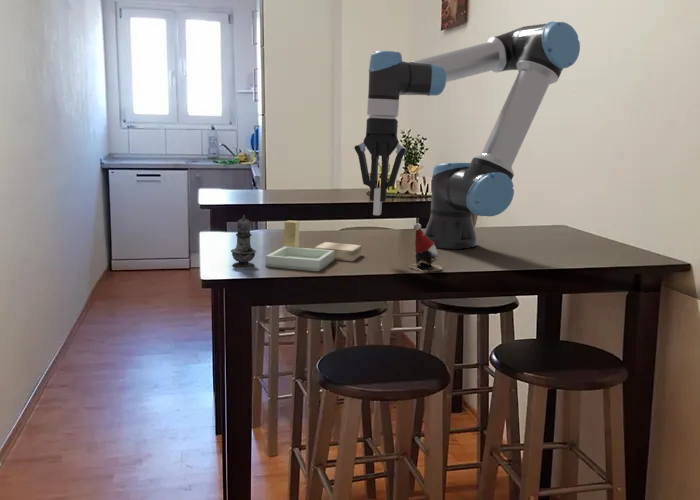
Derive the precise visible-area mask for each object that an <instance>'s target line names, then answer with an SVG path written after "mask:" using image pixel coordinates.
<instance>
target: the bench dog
mask: <svg viewBox="0 0 700 500" xmlns="http://www.w3.org/2000/svg"><path fill="white" fill-rule="evenodd" d="M283 223H284V226H283V227H284V229H283V230H284V231H283V236H284V237H283V247H284V246H286V247H298V248H300V220H287V221H284V222H283Z"/></svg>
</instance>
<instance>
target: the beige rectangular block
mask: <svg viewBox="0 0 700 500" xmlns="http://www.w3.org/2000/svg"><path fill="white" fill-rule="evenodd" d="M362 248H363V247H362V245H360V244H351V243H339V242H329V241H324V242H322V243H320V244H318V245H316V246H314V249H322V250H334V261H335V260H337V261H347V262H354V261H355V260H357V259H359V257H361V256H362Z"/></svg>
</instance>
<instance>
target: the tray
mask: <svg viewBox="0 0 700 500" xmlns="http://www.w3.org/2000/svg"><path fill="white" fill-rule="evenodd" d="M334 261H335V259H334V250H322V249H315V248H309V247H308V248H307V247H299V248H298V247H286V246H284V245H283V246H281V248H278V249H277V250H274V251H273V252H271V253H269V254H267V255H265V267H266V268H267V267H268V268H277V269H279V268H280V269H290V270H299V271H300V270H301V271H309V272H310V271H312V272H320V271H321V270H323V269H324V268H326V267H327V266H328V265H330V264H332V263H333V262H334Z"/></svg>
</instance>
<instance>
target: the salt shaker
mask: <svg viewBox="0 0 700 500" xmlns="http://www.w3.org/2000/svg"><path fill="white" fill-rule="evenodd" d="M236 227H237V230H236V231H237V233H235V236H236V246H235V248H233V249H231V250H230V252H231V255H232V258H233V259H234V261H236V262H234V263H232V265H231V267H233V268H236V269H251V268H254V267H255V266H256V265H255V264H254V263H253V262H251V261H252V260H253V259H255V256H256V253H257V250H256V249H253V248H252V246H251V236H252V233H251V221H250V220H249V219H248V218H246V216H245V214H243V215H242V218H241V219H239V220H238V221H237V225H236Z"/></svg>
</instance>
